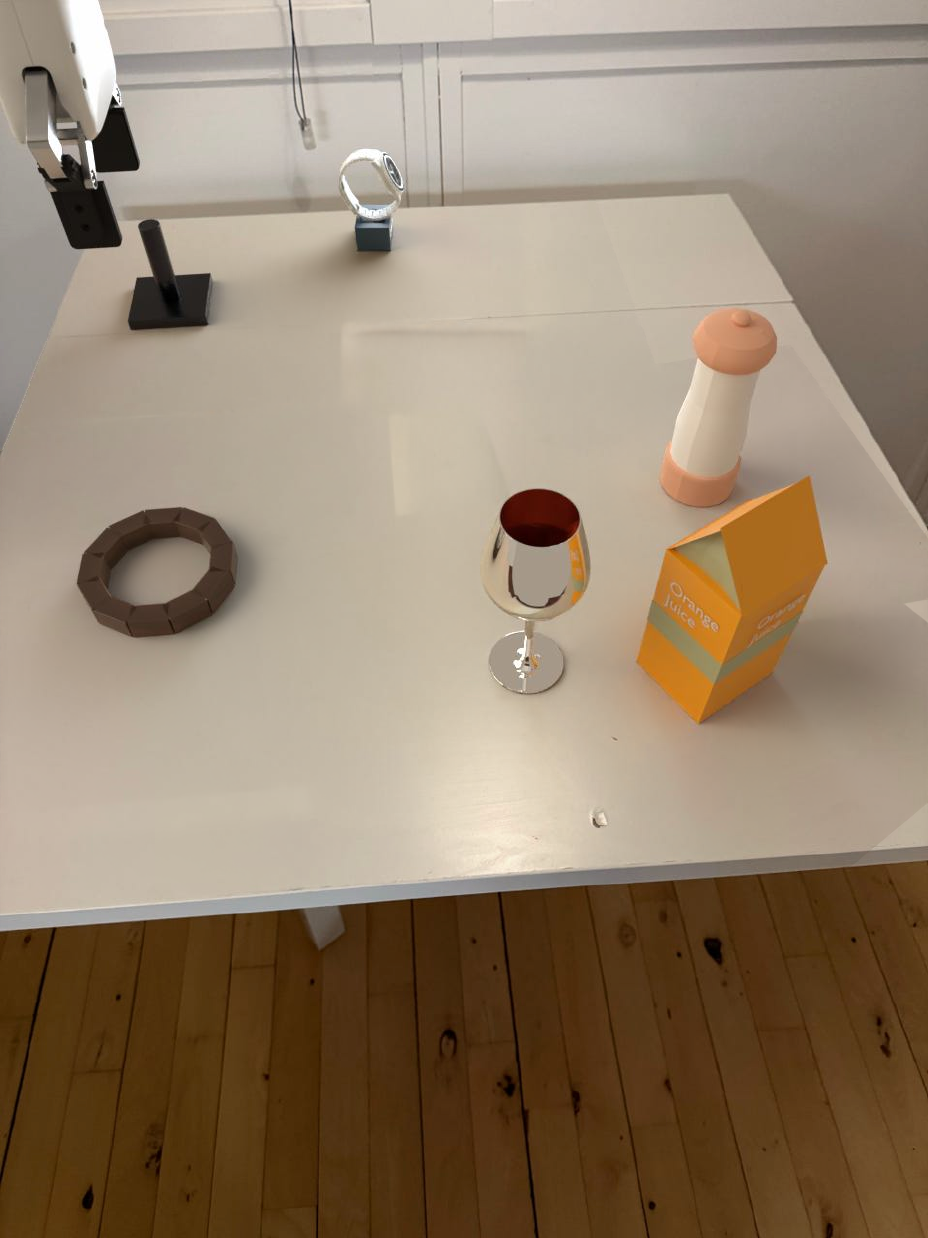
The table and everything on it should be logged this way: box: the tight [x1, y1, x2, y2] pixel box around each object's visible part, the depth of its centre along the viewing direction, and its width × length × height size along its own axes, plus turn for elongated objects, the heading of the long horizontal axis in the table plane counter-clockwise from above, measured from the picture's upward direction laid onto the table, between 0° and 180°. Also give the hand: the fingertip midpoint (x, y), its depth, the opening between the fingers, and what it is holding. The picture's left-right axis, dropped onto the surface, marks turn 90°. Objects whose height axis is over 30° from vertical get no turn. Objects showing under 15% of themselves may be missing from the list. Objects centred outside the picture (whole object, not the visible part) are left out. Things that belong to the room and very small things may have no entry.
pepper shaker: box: [659, 307, 778, 508], centre depth 82 cm, size 7×7×19 cm
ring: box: [76, 506, 238, 638], centre depth 82 cm, size 14×14×2 cm
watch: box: [338, 148, 405, 252], centre depth 113 cm, size 6×8×11 cm
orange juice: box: [636, 475, 828, 725], centre depth 68 cm, size 8×9×20 cm
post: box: [127, 218, 213, 331], centre depth 104 cm, size 9×9×10 cm
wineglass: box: [479, 487, 592, 695], centre depth 70 cm, size 8×8×18 cm
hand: (108, 205), depth 60 cm, fingers open, 9 cm apart
